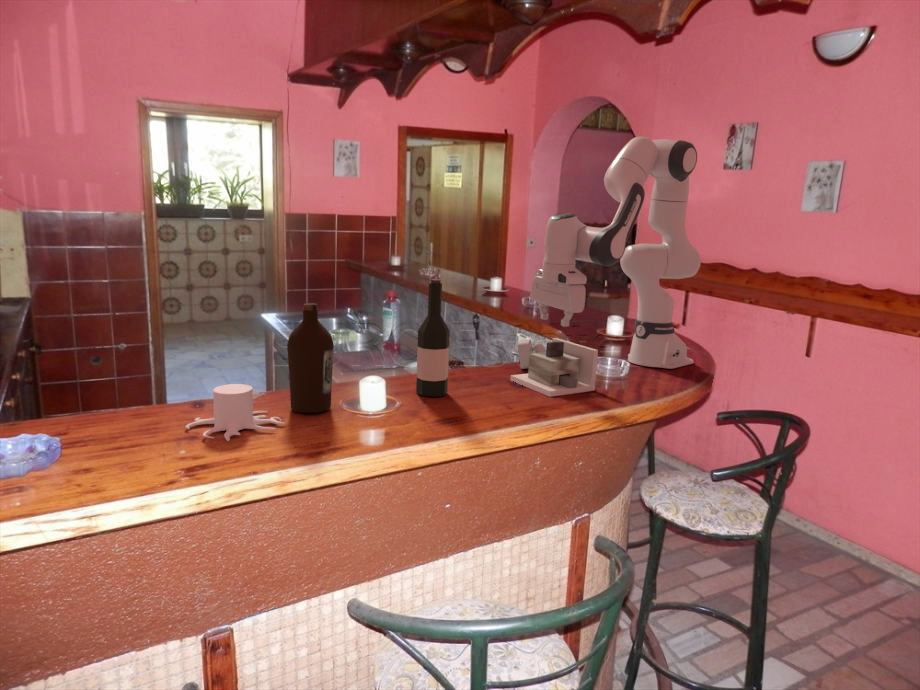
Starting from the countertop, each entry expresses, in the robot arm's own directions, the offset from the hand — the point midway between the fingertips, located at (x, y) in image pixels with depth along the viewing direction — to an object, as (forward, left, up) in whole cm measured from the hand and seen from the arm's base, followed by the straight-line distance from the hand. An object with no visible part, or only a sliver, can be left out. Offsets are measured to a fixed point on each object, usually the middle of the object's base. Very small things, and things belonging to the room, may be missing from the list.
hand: (554, 322), depth 182 cm
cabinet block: (0, +1, -16) cm, 16 cm away
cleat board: (0, +1, -18) cm, 18 cm away
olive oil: (+68, -6, -18) cm, 71 cm away
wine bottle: (+35, -6, -18) cm, 40 cm away
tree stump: (+87, -2, -19) cm, 89 cm away
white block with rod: (-8, -15, -19) cm, 25 cm away
